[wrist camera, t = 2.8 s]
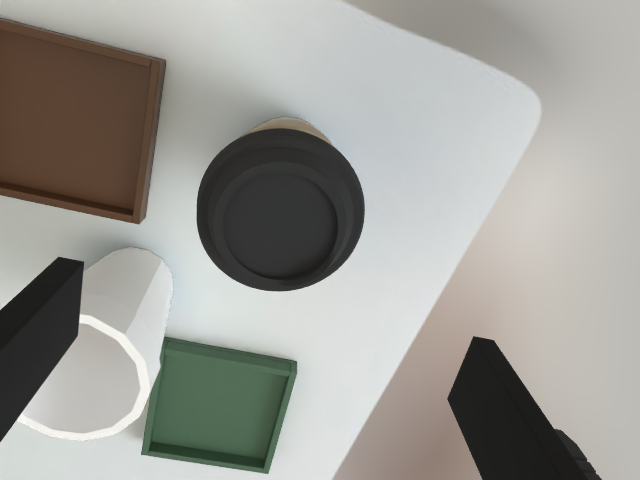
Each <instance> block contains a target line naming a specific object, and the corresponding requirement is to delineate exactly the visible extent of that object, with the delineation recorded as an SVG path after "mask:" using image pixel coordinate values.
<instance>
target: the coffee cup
mask: <svg viewBox="0 0 640 480" xmlns="http://www.w3.org/2000/svg"><path fill="white" fill-rule="evenodd" d="M364 212H365V206H364V196H363V192H362V188H361V184H360V182H359V179H358V177H357V175H356V173H355V171H354V169H353V168H352V166H351V165H350V163H349V162H348V161H347V159H346V158H345V157H344V156H343V155H342V154H341V153H340V152H339V151H338V150H337V149H336V148H335V147H334V146H333V145H332V144H331V142H330V141H329V140H328V139H327V138H326V137H325V136H324V135H323V134H322V133H321V132H320V131H319V130H317V129H316V128H315V127H313V126H312V125H311V124H309V123H307V122H305V121H303V120H300V119H297V118H291V117H281V118H276V119H272V120H269V121H267V122H265V123H263V124H261V125H259V126H257V127H255V128H253V129H252V130H250V131H249V132H247V133H246V134H244V135H243V136H241V137H240V138H238V139H237V140H235V141H233V142H232V143H230V144H229V145H228V146H226V147H225V148H224V149H223V150H222V151H221V152H220V153H219V154H218V155H217V156H216V157H215V158H214V159H213V161H212V162H211V163H210V165H209V166H208V168H207V170H206V172H205V174H204V176H203V178H202V181H201V184H200V187H199V191H198V197H197V227H198V232H199V236H200V239H201V242H202V244H203V247H204V249H205V251H206V252H207V254H208V256H209V257H210V258H211V260H212V261H213V262H214V263H215V265H216V266H217V267H218V268H219V269H220V270H221V271H223V272H224V273H225V274H226V275H228V276H229V277H231V278H232V279H234V280H236V281H237V282H239V283H242V284H244V285H246V286H249V287H252V288H256V289H260V290H266V291H291V290H296V289H301V288H304V287H308V286H310V285H313V284H315V283H317V282H319V281H321V280H323V279H325V278H326V277H328V276H329V275H331V274H332V273H334V272H335V271H336V270H337V269H338V268H339V267H340V266H342V264H343V263H344V262H345V261H346V260H347V259H348V258H349V256H350V255H351V253H352V252H353V250H354V249H355V247H356V245H357V243H358V240H359V238H360V235H361V232H362V228H363V223H364Z"/></svg>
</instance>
